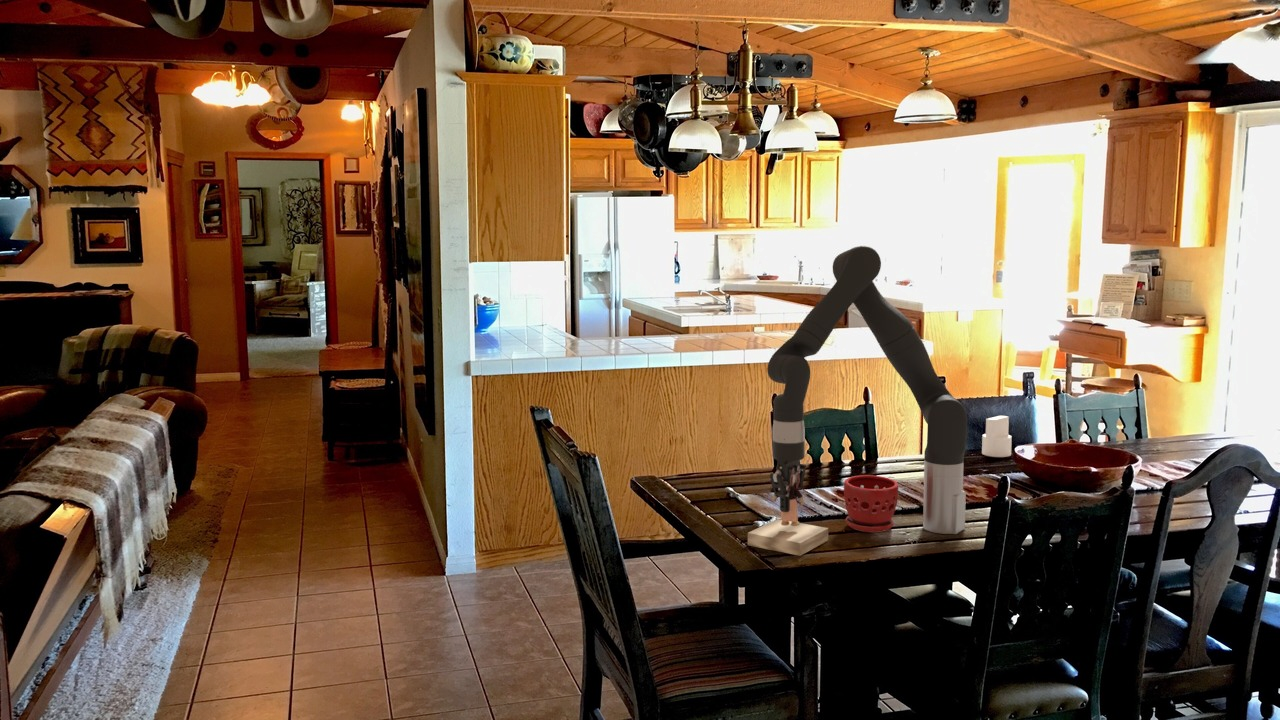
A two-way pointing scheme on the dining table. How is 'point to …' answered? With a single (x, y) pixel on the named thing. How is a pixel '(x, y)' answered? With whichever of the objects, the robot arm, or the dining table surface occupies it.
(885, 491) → the plant pot
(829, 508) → the dining table surface
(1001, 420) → the base with upright slab
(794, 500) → the grandmother figurine
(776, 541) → the birch platform
